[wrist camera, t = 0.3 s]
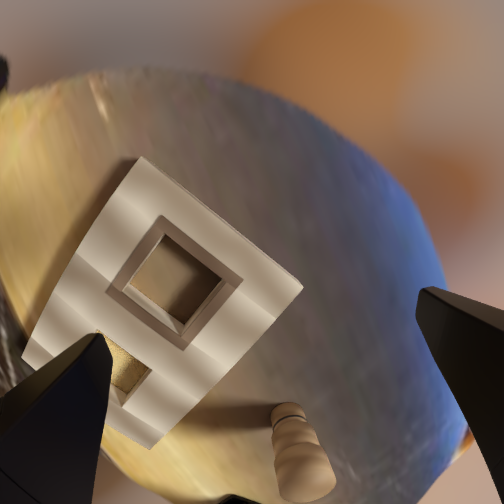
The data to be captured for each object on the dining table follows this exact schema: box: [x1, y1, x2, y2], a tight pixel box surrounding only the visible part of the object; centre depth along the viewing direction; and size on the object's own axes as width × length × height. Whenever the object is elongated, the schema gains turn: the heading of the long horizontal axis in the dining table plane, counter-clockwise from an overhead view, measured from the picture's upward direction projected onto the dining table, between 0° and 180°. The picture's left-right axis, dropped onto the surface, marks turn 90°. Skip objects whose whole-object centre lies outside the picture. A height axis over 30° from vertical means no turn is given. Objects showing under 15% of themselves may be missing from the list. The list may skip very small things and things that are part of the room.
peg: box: [270, 402, 336, 503], centre depth 22 cm, size 4×4×9 cm
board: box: [21, 156, 304, 450], centre depth 22 cm, size 20×14×2 cm
